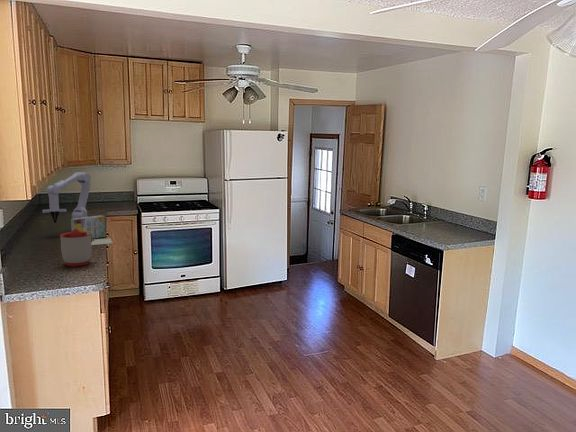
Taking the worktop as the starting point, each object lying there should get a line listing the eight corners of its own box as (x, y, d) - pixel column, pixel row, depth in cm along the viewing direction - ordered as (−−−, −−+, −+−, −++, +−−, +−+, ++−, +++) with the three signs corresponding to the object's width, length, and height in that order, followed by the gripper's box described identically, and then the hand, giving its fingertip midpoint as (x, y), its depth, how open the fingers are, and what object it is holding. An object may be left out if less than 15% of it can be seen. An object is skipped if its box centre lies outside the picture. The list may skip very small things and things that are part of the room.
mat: (68, 241, 299) (68, 241, 299) (110, 238, 311) (110, 238, 311) (69, 247, 285) (69, 246, 285) (113, 243, 297) (113, 243, 297)
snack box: (101, 236, 318) (100, 215, 316) (105, 237, 315) (104, 215, 313) (71, 240, 302) (70, 218, 300) (75, 241, 299) (74, 219, 296)
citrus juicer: (101, 263, 249) (99, 228, 246) (68, 269, 237) (66, 232, 233) (88, 258, 260) (86, 224, 256) (56, 264, 247) (54, 228, 244)
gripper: (41, 204, 300) (43, 224, 302) (66, 203, 306) (67, 223, 309) (42, 203, 306) (43, 222, 308) (65, 202, 313) (66, 221, 315)
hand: (55, 222), depth 309 cm, fingers closed
